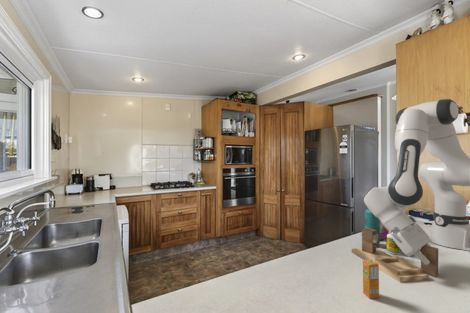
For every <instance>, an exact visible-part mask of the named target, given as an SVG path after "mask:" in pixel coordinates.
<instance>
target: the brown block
mask: <svg viewBox="0 0 470 313" xmlns="http://www.w3.org/2000/svg"><path fill="white" fill-rule="evenodd" d="M419 250H420V251H421V252H422V254H423V255H424V256H425V257H427V258H428V259H429V260H430V261H431V262H430V263H429V264H427V265H425V264H424V263H423V262H422V261H421V260H420V268H421V269H423V272H424V273H425V274H427V275H428V277H429V276H430V277H432V278H437V276H438V274H439V248H438V247H433V246H432V245H430V246H427V245H424V246H423V247H422V248H421V249H419Z"/></svg>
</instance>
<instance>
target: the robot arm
mask: <svg viewBox="0 0 470 313" xmlns="http://www.w3.org/2000/svg"><path fill="white" fill-rule="evenodd" d="M458 116H459V107H458V104H457V103H456V102H455V101H454V100H452V99H451V98H444V99H439V100H433V101H426V102H422V103H419V104H415V105H412V106H409V107H404V108H402V109H400V110H398V112H397V113H396V114H395V123H396V129H395V131H394V132H395V133H394V148H395V151H396V152H397V153H398V162H397V163H398V164H397V168H396V170H397V171H396V173H395V176H394V178H392V180H391V181H390V183H389V184H388V186H379V187H377V186H374V187H372V188H371V189H369V190H368V191H367V192H366V193H365V195H364V197H363V203H364V204H365V206H366V207H367V209H369V210H370V211H371V212H372V213H373V214H374V216H376V217H377V218H378V219H379V220H380V221H381V223H382V224H383V226H384V227H385V228H386V229H387V230H388V231H389V232H390V233H391V235H392V236H393V240H394V241H395V243H396V244H397V245H398V246H399V248H400V249H401V250H402V253H403V254H404V255H405V256H408V257H410V256H412V255H413V256H414V257H416V258H417V259H418V260H420V262H421V261H422V262H423V263H424V264H425V265H427V264H429V263H430V262H431V261H430V260H429V259H428V258H427V257H425V256H424V255H423V254H422V252H421V251H420V249H421V248H422V247H423V246H424V245H427V246H431V245H430V244H429V242H432V243H433V244H436V245H439V246H441V247H447V248H451V249H458V250H463V251H467V252H470V215H467V200H466V198H465V197H464V196H463V195H462V194H460V193H458V192H457V191H456V190H455V189H454V186H459V187H470V156H468V155H467V153H465V151H464V150H463V149H462V147H461V145H460V141H459V137H458V136H457V135H458V134H457V133H456V132H457V131H456V129H455V125H454V122H455V121H456V120H457V119H458ZM426 147H427V151H428V153H429V154H430V155H431V156H432V157H435V158H437V159H439V160H440V161H439V160H438V161H428V162H424V163H422V164H421V165H420V157H421V155H422V153H423V152H424V150H425V148H426ZM419 177H420V179H421V180H422V181H423V182H425V184H427V185H428V186H429V188H430V190H431V192H432V194H433V200H434V201H433V202H434V211H433V214H432V218H433V221H432V224H431V230H430V234H429V235H428V234H427V232H426V231H425V230H424V229H423V228H422V227H421V225H419V223H417V220H416V219H415V218H414V217H413V216H409V215H407V214H406V213H405V212H404V211H403V210H404V209H408V208H411V207H413V206H414V205H415V204H416V203H418V202H419V201H420V200H421V199H422V197H423V194H424V191H423V190H424V189H423V186H422V183H421V181H420V179H419Z"/></svg>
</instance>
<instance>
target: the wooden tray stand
mask: <svg viewBox="0 0 470 313" xmlns="http://www.w3.org/2000/svg"><path fill="white" fill-rule="evenodd" d="M376 242H378V234H376V230H374V229H370V228H365V227H364V228H362V229H361V247H360V248H359V247H356V248H351V253H352V254H354V255H356V256H357V257H359V258H360V259H362V261H363V260H373V261H374V262H376V263H378V265H379V271H381V272H383V273H384V274H386V275H388V276H389V277H391V278H393V279H395V280H396V281H397V282H399V283H406V282H414V281H415V282H416V281H417V282H418V281H427V280H429V275H427V274H425V273H424V272H423V269H421V267H419V266H417V265H415V264H412V263H411V262H409V261H407V260H405V259H403V258H401V257H399V256H392V255H390V253H389V254H388V252H385V251H382V250H380V249H378V248H377V244H376Z"/></svg>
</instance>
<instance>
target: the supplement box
mask: <svg viewBox="0 0 470 313" xmlns="http://www.w3.org/2000/svg"><path fill="white" fill-rule="evenodd" d="M379 272H380V269H379V265H378V263H376V262H374V261H373V260H363V259H362V293H363V294H364V295H365V297H367V298H368V299H379V298H380V276H379V274H380V273H379Z"/></svg>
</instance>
